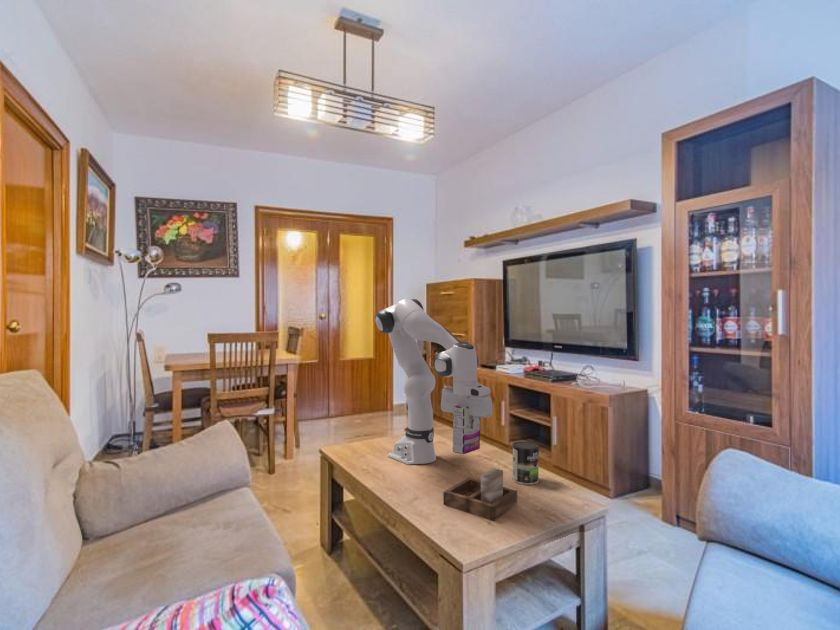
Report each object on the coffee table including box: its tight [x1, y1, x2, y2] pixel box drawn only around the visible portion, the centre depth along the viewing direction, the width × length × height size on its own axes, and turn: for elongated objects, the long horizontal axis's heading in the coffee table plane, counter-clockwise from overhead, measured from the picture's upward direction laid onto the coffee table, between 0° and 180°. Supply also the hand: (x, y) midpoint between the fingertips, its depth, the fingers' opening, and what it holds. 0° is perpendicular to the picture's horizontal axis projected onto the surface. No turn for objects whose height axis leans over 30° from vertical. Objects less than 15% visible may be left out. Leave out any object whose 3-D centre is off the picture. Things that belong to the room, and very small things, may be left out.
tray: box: [442, 467, 518, 522], centre depth 163 cm, size 20×17×12 cm
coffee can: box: [511, 440, 540, 486], centre depth 185 cm, size 10×10×14 cm
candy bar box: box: [452, 405, 481, 455], centre depth 167 cm, size 11×5×16 cm, turn 141°
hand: (466, 426), depth 167 cm, fingers closed on candy bar box, 5 cm apart
